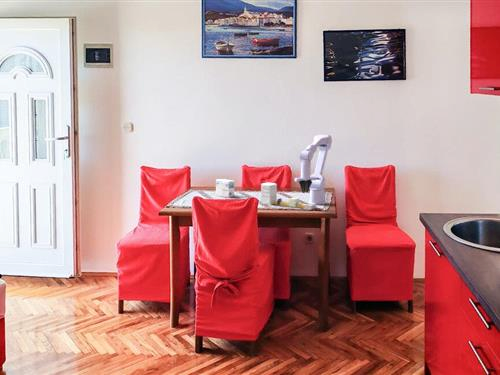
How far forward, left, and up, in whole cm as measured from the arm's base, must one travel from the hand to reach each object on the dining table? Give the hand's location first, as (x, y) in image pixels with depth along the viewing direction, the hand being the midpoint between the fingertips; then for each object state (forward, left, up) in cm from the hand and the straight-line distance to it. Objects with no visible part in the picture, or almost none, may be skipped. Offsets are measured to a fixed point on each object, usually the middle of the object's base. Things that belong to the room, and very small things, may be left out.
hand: (304, 192), depth 385 cm
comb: (-2, +2, -9) cm, 10 cm away
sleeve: (+4, -6, -9) cm, 12 cm away
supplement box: (+15, -19, -10) cm, 26 cm away
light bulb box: (+32, -51, -10) cm, 61 cm away
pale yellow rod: (+5, -6, -9) cm, 12 cm away
